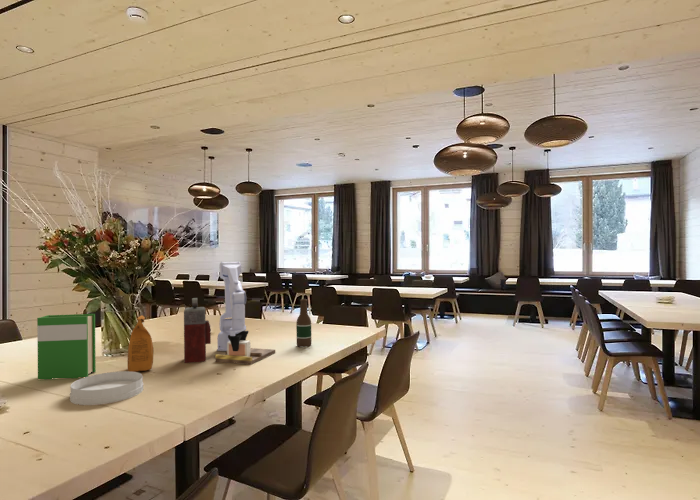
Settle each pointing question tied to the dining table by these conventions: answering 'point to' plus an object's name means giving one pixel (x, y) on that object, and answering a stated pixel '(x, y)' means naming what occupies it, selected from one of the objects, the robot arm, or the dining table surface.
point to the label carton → (240, 349)
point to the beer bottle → (303, 326)
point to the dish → (106, 388)
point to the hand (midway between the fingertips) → (238, 349)
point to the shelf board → (255, 356)
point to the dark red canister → (195, 333)
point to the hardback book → (66, 346)
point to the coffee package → (140, 348)
